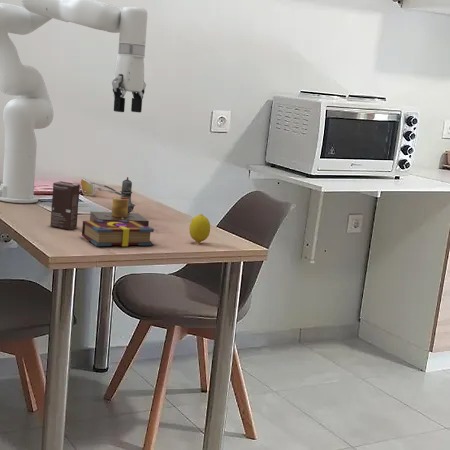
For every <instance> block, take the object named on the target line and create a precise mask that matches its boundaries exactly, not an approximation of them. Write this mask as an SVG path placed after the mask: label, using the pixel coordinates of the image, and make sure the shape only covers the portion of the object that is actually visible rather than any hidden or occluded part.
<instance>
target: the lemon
mask: <svg viewBox="0 0 450 450" xmlns="http://www.w3.org/2000/svg"><path fill="white" fill-rule="evenodd" d="M188 232H189V235H190V237H191V239H192V240H193V241H195V242H196V243H197V244H201V242H203V241H206V240H207V239H208V238H209V236H210V233H211V222H210V220H209V218H208V217H206V216H205V215H204V214H203V213H199V215H196V216H194V217H193V218H192V219H191V221H190V224H189V231H188Z"/></svg>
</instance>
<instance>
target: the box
mask: <svg viewBox="0 0 450 450" xmlns="http://www.w3.org/2000/svg"><path fill="white" fill-rule="evenodd" d="M80 185H81V184H79V183H73V182H67V181H56V182H53V184H52V196H51V197H52V199H51V211H50V212H51V213H50V227H54V228H60V229H64V230H75V229H76V228H78V216H79V215H78V213H79V204H80V203H79V202H80V192H81V191H80Z"/></svg>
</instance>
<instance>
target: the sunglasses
mask: <svg viewBox="0 0 450 450" xmlns="http://www.w3.org/2000/svg"><path fill="white" fill-rule="evenodd" d="M79 185H80V189H82V190H83V191H82V190H80V191H79V192H80V193H82V195H84V196H95V193H96V190H98V191H105V192H107V193H111V194H116V195H117V196H118V195H119V196H121V192H119V191H118V190H116V189H115V188H114V187H113V188H112V187H110V186H109V185H106V184H101V183H98V182H94V181H90V180H87V179H86V178H83V177H81V181H80V184H79ZM84 191H86V192H84Z"/></svg>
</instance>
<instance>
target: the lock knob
mask: <svg viewBox="0 0 450 450" xmlns="http://www.w3.org/2000/svg"><path fill="white" fill-rule="evenodd" d="M128 203H129V198H126V197H121V196H114V197H112V205H111V212H112V216H114V217H121V218H124V217H127V214H128Z"/></svg>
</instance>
